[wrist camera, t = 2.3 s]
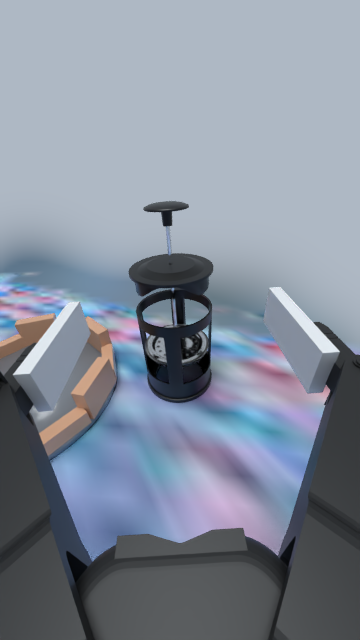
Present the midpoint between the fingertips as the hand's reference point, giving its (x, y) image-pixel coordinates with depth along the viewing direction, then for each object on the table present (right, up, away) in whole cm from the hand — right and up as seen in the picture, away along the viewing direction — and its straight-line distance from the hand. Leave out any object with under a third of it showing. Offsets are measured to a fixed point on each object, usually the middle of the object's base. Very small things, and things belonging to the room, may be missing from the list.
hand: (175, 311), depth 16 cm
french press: (0, -9, +18) cm, 20 cm away
